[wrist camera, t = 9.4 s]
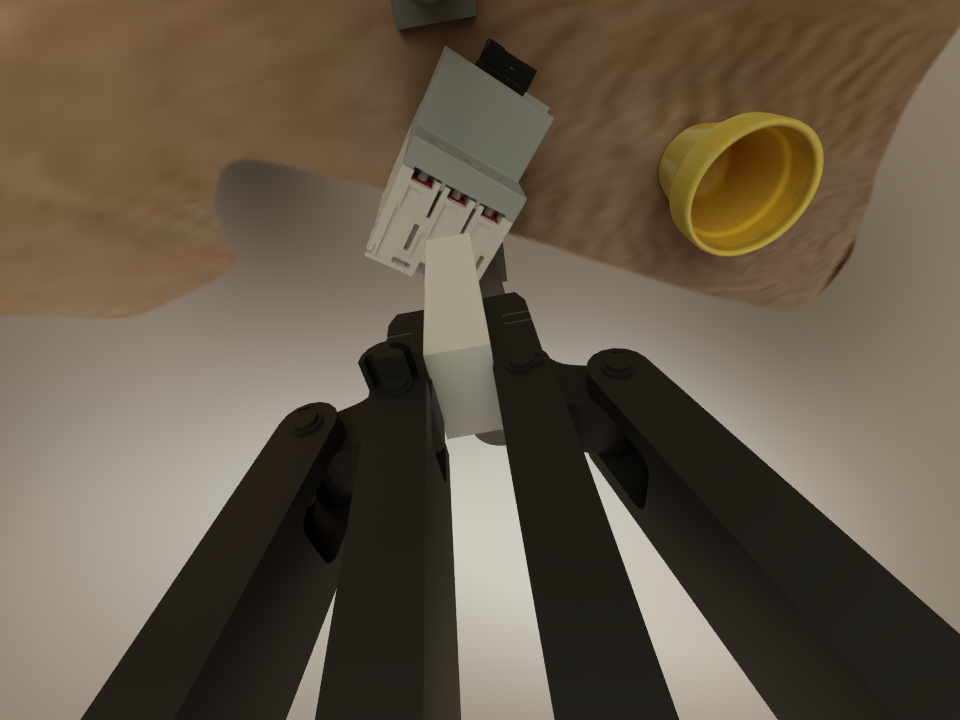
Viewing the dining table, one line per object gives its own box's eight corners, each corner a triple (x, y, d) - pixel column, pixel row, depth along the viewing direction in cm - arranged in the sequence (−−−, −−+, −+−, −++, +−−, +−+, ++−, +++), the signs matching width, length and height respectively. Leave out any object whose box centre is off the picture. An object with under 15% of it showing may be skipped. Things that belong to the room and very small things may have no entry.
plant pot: (722, 220, 45) (783, 260, 37) (625, 216, 44) (668, 256, 36) (769, 104, 39) (854, 122, 31) (658, 95, 37) (718, 112, 30)
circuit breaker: (535, 76, 36) (587, 97, 24) (456, 228, 43) (465, 304, 31) (453, 20, 33) (466, 12, 21) (383, 192, 40) (362, 259, 28)
